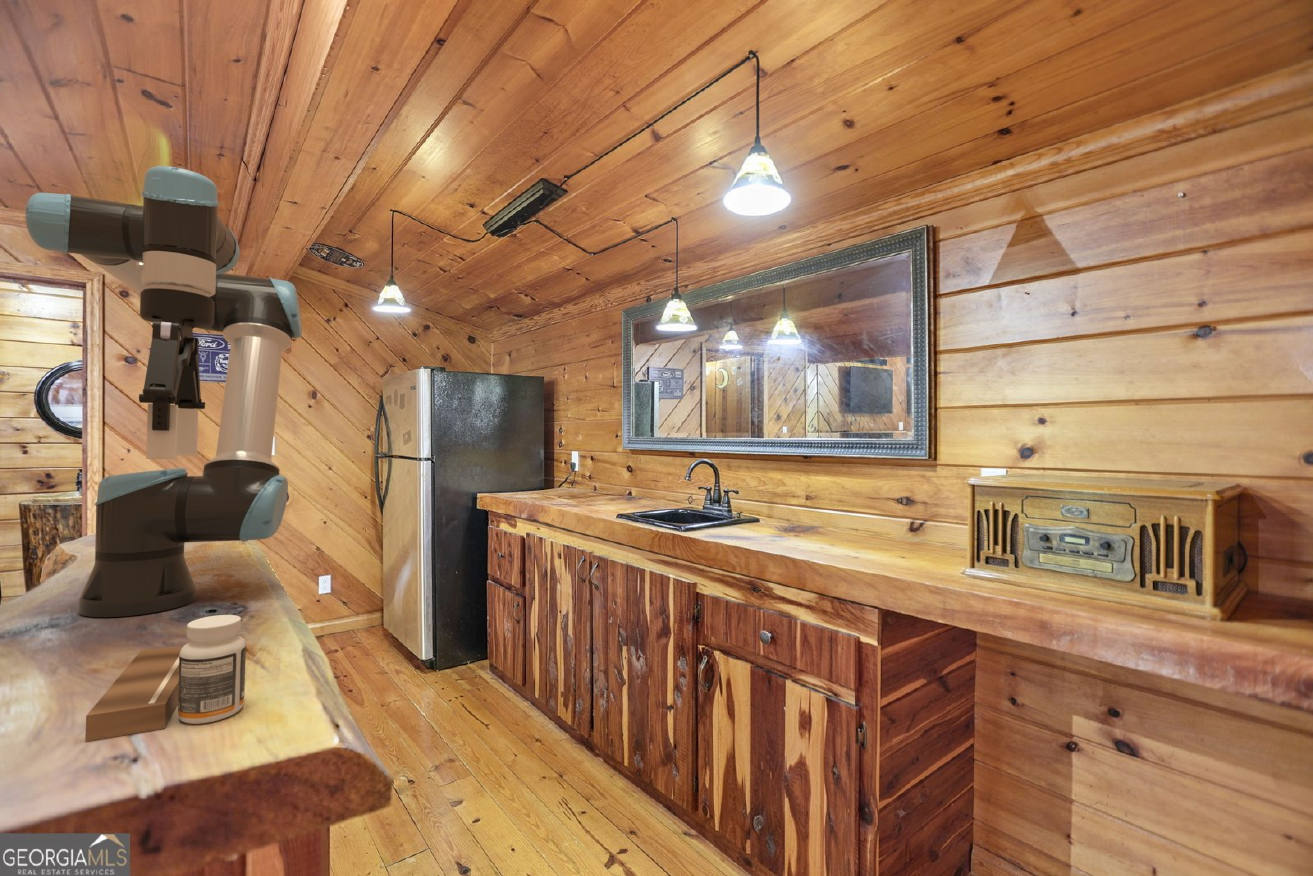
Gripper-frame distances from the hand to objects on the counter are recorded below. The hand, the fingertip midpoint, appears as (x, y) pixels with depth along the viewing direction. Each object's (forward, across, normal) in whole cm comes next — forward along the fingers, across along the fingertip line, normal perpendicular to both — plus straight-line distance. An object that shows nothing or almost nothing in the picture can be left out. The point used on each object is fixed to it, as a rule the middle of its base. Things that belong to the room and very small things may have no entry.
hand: (173, 457), depth 77 cm
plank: (+27, +11, 0) cm, 29 cm away
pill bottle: (+27, +19, +7) cm, 34 cm away
